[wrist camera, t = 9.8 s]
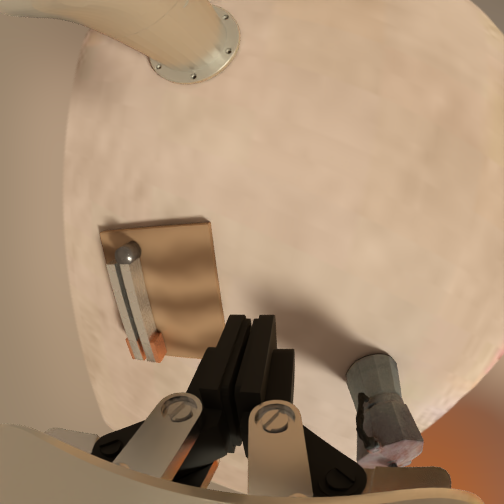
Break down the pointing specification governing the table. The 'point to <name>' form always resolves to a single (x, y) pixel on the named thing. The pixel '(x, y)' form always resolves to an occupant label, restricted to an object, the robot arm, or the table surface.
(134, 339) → the bar
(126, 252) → the tong leg
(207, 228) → the board
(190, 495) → the robot arm
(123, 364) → the table surface
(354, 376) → the moka pot
